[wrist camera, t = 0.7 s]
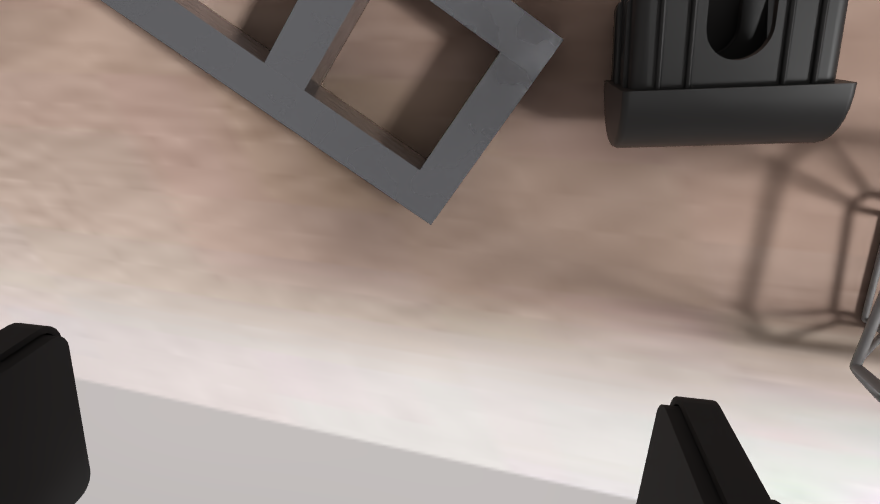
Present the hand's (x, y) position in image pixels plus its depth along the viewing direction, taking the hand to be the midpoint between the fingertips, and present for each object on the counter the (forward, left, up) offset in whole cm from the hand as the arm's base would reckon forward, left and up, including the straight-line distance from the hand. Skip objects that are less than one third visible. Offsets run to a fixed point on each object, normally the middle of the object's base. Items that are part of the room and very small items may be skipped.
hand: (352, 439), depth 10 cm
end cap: (-10, +8, -28) cm, 31 cm away
